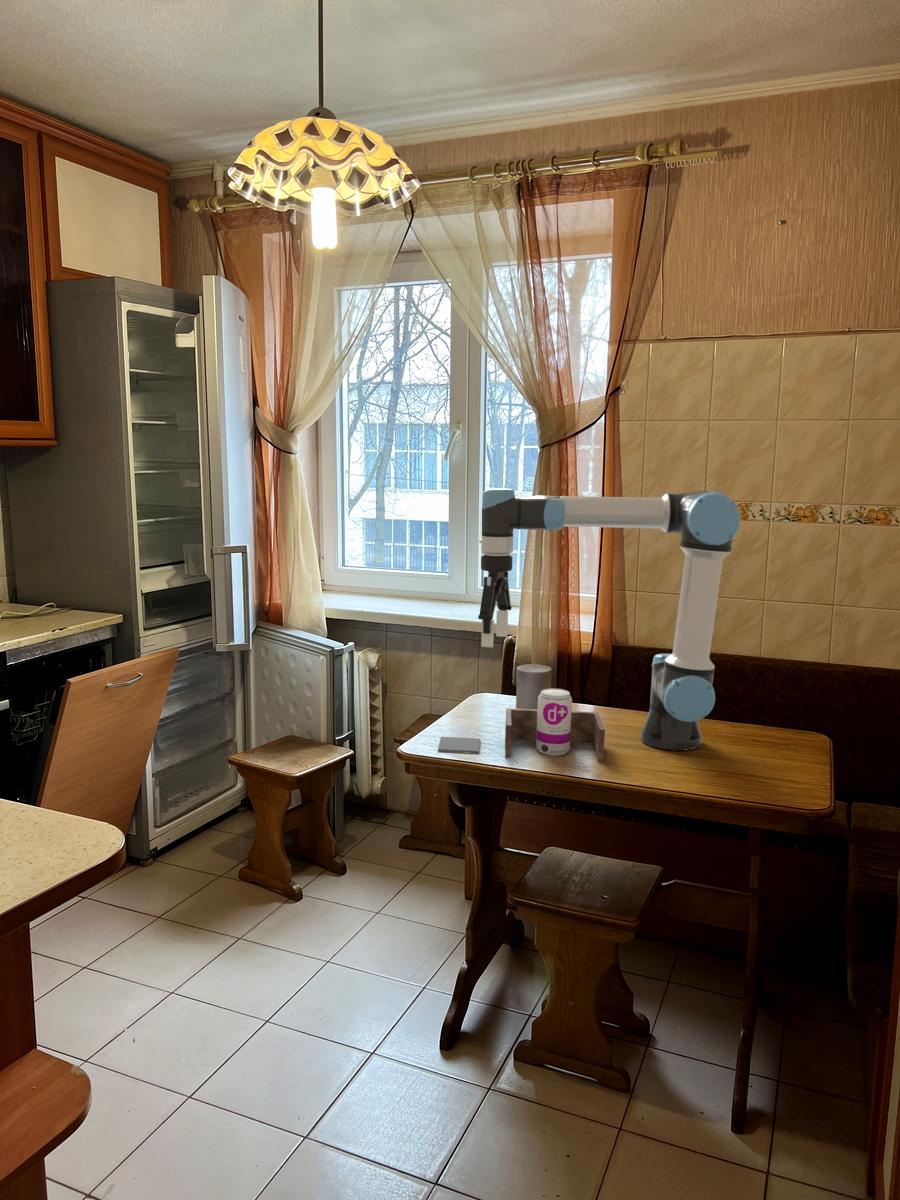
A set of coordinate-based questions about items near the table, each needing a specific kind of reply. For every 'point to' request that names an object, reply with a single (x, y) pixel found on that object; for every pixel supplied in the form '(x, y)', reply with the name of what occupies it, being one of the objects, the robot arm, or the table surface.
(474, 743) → the rubber mat
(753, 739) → the table surface
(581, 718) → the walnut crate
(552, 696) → the supplement can
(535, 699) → the pillar candle
